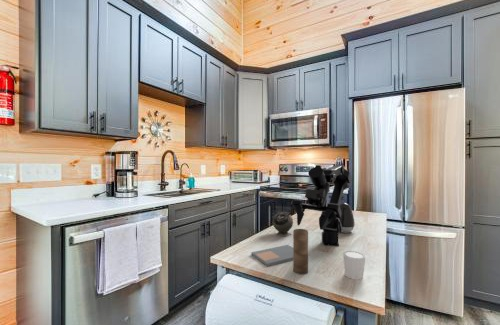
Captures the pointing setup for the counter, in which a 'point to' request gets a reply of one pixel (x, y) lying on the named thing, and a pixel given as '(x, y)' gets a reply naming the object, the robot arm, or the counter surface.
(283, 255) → the slate board
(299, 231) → the walnut roller
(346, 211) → the dark grey tapered dome
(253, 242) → the counter surface
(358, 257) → the white cup
